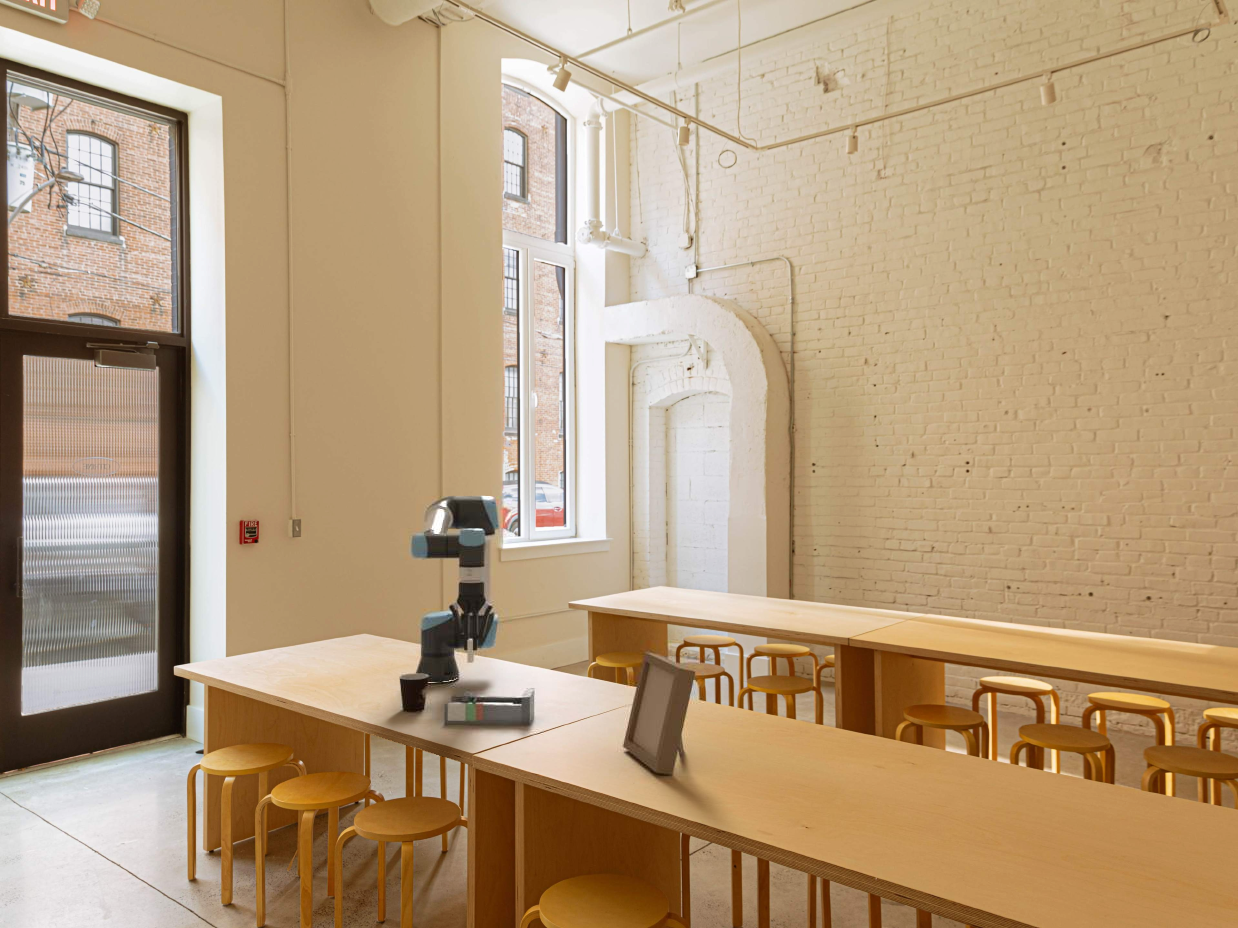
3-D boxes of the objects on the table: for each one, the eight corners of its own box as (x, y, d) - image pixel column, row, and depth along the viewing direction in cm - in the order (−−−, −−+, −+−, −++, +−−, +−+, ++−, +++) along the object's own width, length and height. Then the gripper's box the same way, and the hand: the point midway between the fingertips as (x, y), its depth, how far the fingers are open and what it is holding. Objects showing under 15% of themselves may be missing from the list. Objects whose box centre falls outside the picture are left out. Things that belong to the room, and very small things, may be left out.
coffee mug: (411, 714, 255) (411, 680, 256) (393, 709, 261) (393, 676, 261) (441, 706, 265) (442, 674, 265) (423, 702, 270) (423, 670, 270)
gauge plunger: (465, 711, 254) (466, 690, 254) (513, 711, 253) (513, 691, 254) (459, 720, 244) (459, 698, 244) (508, 720, 244) (508, 699, 244)
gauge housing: (452, 714, 256) (452, 687, 256) (534, 715, 256) (534, 688, 256) (444, 724, 245) (444, 696, 245) (529, 725, 244) (529, 697, 245)
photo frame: (655, 776, 202) (657, 669, 203) (622, 750, 222) (624, 652, 223) (712, 770, 207) (714, 666, 208) (675, 745, 227) (676, 650, 228)
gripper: (446, 582, 250) (445, 663, 249) (491, 582, 250) (490, 664, 249) (452, 579, 257) (451, 658, 257) (495, 579, 257) (494, 659, 256)
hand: (470, 661), depth 253 cm, fingers closed
